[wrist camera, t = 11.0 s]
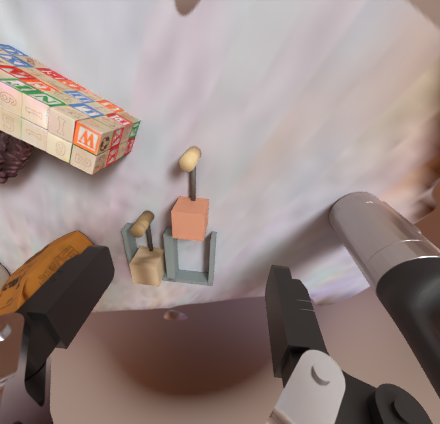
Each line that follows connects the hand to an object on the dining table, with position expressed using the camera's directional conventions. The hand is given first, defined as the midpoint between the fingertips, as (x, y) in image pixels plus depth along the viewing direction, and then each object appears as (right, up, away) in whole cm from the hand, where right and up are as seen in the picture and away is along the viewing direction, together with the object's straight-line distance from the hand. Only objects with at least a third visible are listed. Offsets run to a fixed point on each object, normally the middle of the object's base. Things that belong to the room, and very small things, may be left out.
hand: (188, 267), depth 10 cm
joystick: (-4, +7, +31) cm, 32 cm away
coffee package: (-34, -6, +42) cm, 55 cm away
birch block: (-14, -4, +39) cm, 42 cm away
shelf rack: (-10, -7, +40) cm, 42 cm away
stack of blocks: (-22, +21, +25) cm, 40 cm away
